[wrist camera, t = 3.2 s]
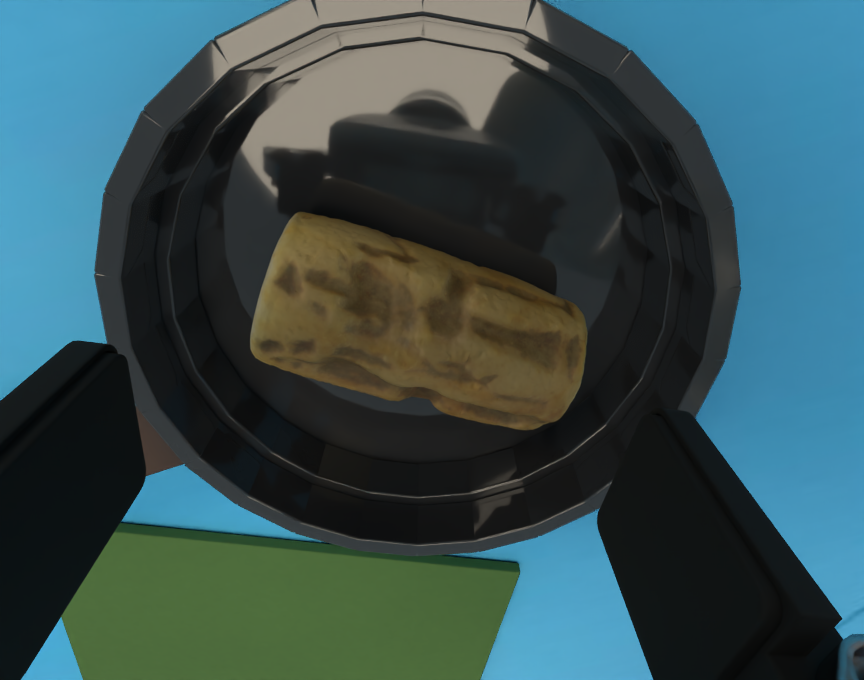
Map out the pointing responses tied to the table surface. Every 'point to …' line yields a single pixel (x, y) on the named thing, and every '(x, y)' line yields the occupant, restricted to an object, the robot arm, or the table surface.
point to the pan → (423, 224)
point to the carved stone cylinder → (416, 325)
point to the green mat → (281, 610)
